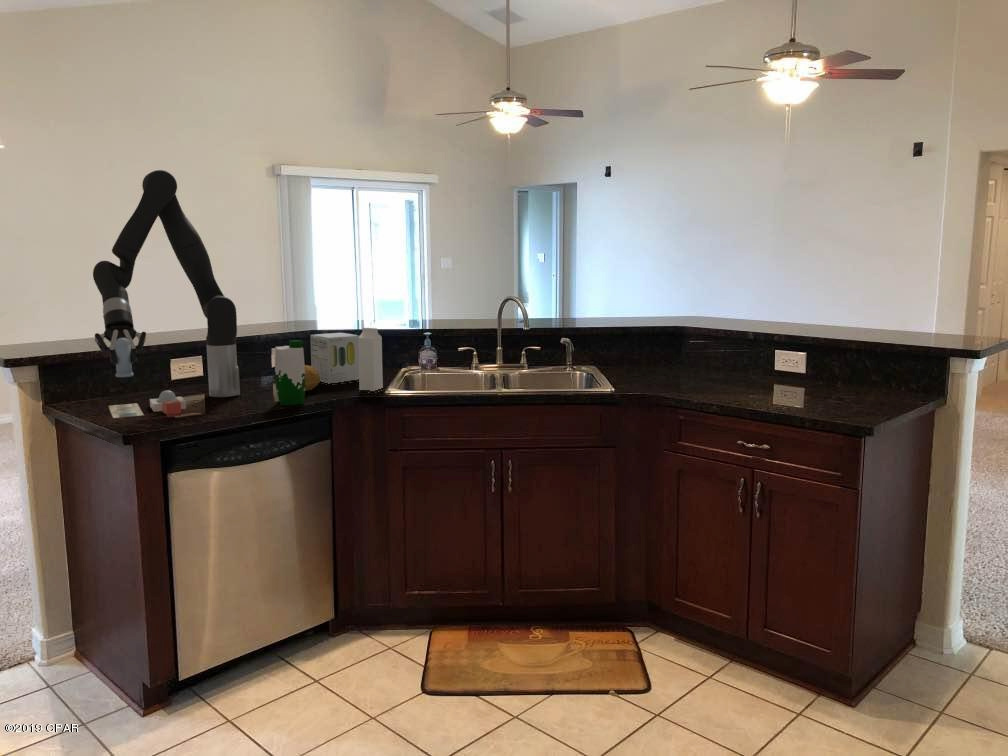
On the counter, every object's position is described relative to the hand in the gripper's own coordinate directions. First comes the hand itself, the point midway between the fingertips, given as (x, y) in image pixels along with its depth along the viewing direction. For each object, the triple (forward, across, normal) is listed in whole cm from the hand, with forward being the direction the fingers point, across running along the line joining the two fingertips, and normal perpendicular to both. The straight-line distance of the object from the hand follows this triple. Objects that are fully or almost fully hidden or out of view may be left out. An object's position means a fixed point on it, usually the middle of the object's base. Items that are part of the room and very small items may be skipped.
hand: (124, 362), depth 216 cm
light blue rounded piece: (+6, +12, +17) cm, 21 cm away
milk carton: (+11, +47, +12) cm, 50 cm away
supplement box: (-13, +73, +36) cm, 83 cm away
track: (+5, 0, +18) cm, 19 cm away
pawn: (+2, 0, +4) cm, 5 cm away
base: (+6, +12, +17) cm, 22 cm away
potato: (-2, +56, +25) cm, 61 cm away
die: (+12, +12, +11) cm, 20 cm away
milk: (+5, +77, +18) cm, 79 cm away
